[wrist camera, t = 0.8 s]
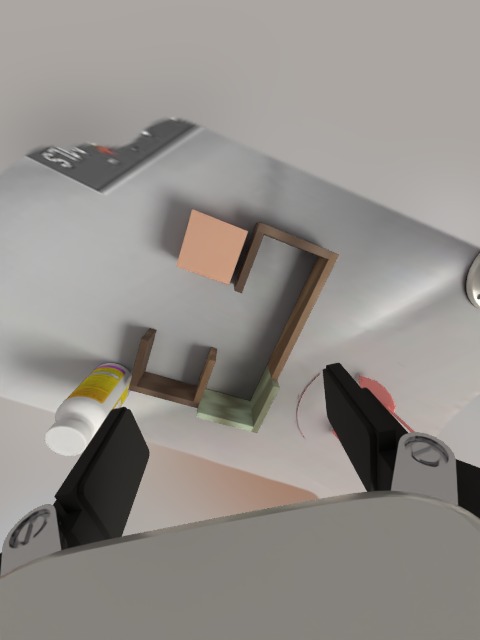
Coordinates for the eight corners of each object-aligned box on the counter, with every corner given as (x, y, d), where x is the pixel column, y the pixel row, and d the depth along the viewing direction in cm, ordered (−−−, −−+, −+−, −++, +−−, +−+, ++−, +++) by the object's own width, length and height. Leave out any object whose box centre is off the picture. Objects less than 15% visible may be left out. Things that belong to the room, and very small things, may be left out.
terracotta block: (245, 231, 33) (248, 231, 29) (228, 278, 35) (228, 285, 31) (197, 212, 32) (192, 209, 28) (182, 262, 34) (176, 266, 30)
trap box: (327, 252, 34) (346, 256, 29) (253, 406, 43) (256, 433, 38) (185, 194, 31) (175, 185, 25) (137, 374, 40) (122, 398, 34)
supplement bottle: (86, 367, 39) (22, 427, 27) (123, 356, 39) (75, 412, 27) (106, 399, 42) (55, 467, 29) (141, 389, 41) (104, 454, 29)
